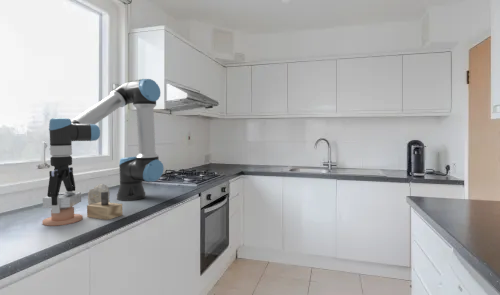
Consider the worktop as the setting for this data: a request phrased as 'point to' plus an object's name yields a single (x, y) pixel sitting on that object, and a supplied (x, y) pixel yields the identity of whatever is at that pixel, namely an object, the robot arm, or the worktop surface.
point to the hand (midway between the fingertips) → (63, 209)
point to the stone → (97, 194)
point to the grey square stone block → (63, 200)
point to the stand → (104, 209)
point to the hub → (62, 217)
